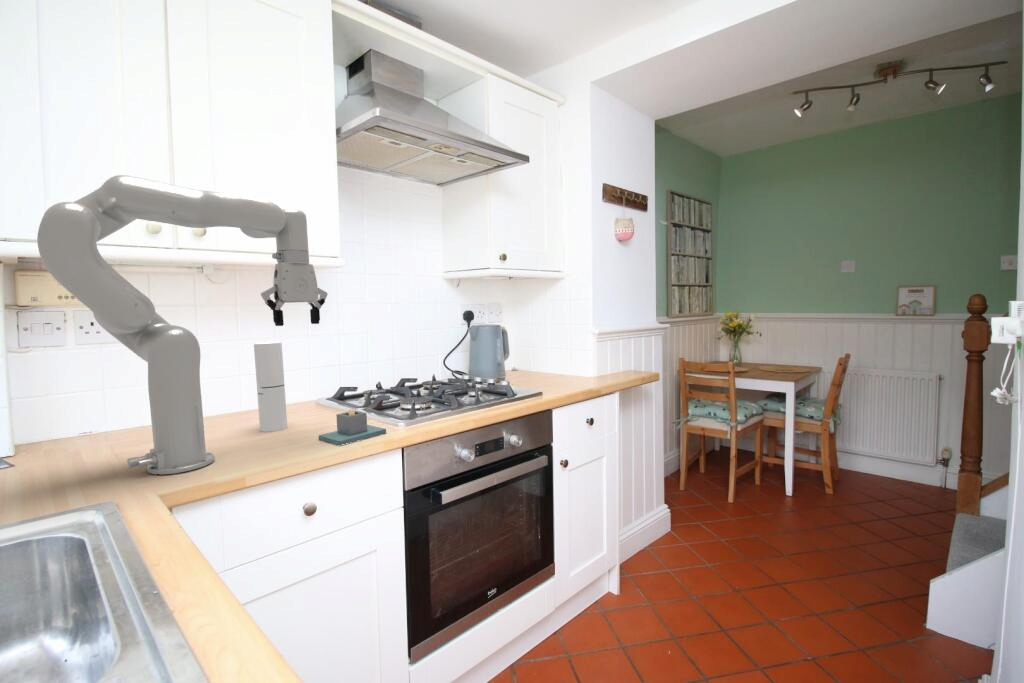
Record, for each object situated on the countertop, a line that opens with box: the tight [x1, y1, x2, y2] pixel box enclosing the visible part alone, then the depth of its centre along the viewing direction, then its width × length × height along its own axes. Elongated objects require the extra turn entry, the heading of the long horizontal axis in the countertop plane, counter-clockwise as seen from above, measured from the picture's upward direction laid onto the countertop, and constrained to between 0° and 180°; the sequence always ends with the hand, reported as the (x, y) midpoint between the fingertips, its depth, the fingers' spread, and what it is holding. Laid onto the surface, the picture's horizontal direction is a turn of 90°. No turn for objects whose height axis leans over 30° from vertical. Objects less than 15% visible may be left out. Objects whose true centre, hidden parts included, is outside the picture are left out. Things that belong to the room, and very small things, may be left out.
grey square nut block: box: [335, 410, 368, 436], centre depth 130 cm, size 6×6×5 cm
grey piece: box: [253, 341, 288, 433], centre depth 140 cm, size 7×7×25 cm
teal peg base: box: [318, 408, 387, 446], centre depth 130 cm, size 14×10×7 cm
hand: (297, 324), depth 128 cm, fingers open, 9 cm apart
